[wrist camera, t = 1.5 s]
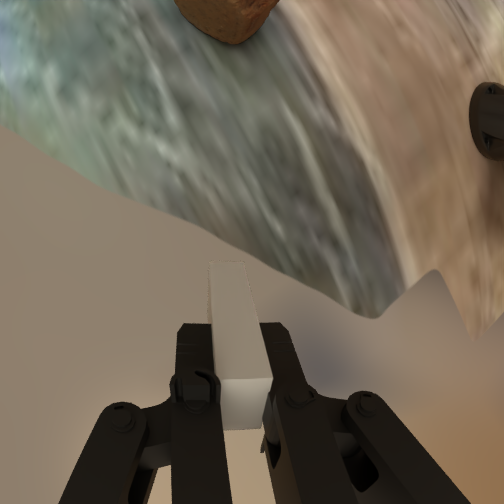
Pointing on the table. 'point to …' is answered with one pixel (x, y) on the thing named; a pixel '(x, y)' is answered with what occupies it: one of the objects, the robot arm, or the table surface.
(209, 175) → the table surface
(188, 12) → the block
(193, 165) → the table surface
